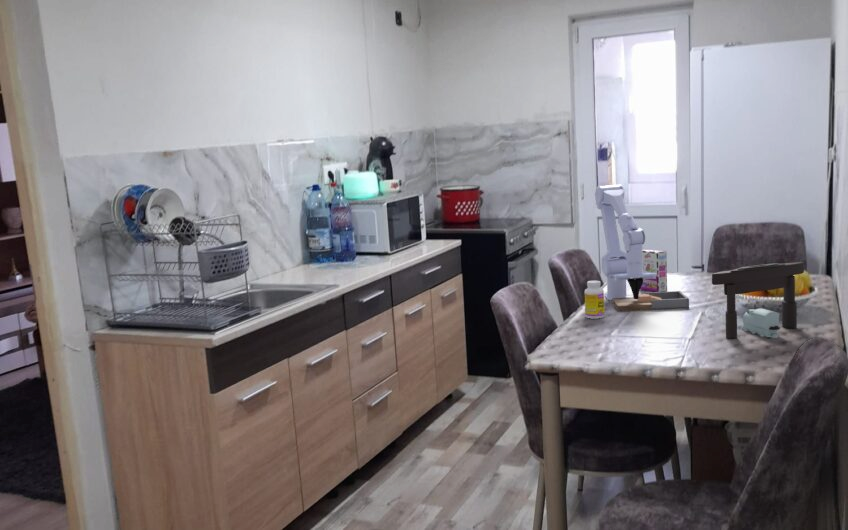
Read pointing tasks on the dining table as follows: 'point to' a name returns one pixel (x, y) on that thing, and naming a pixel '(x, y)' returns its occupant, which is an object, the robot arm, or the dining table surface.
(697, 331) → the dining table surface
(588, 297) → the supplement bottle
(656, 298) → the tile
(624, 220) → the robot arm
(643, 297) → the tile
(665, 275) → the candy bar box
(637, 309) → the board
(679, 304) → the tray
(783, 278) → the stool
